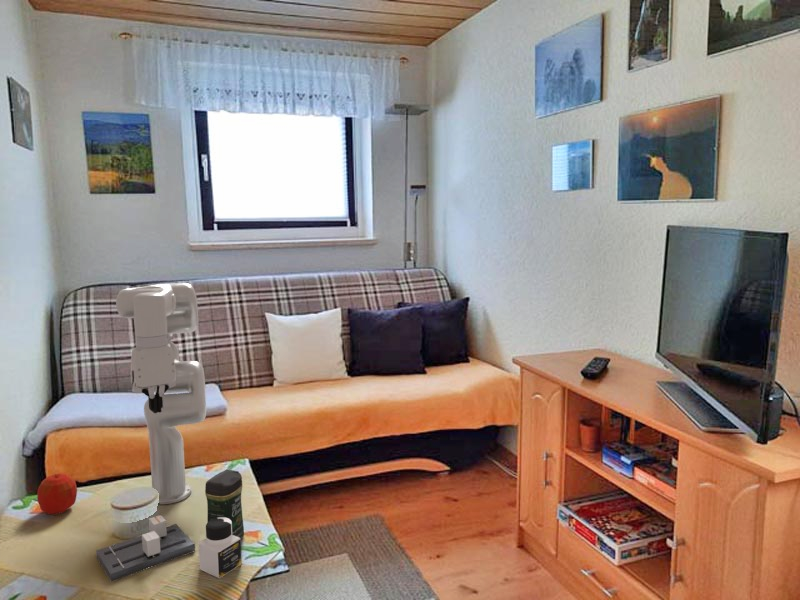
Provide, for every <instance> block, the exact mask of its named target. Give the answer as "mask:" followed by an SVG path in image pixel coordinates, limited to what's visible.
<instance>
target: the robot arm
mask: <svg viewBox="0 0 800 600" xmlns="http://www.w3.org/2000/svg"><path fill="white" fill-rule="evenodd" d="M115 300H116V303H115V306H116V311H117V313H118V314H119V316H120V317H121V318H122V319H123V318H124V319H133V322H134V335H135V347H132V349H131V357H130V358H131V359H130V383H131V384H132V388H131V392H132V393H134V394H143V395H145V396H146V397H147V398H148V399H147V400H146V401H145V402H144V405H143V413H144V419H145V423H146V427H147V433H148V434H147V435H148V440H149V445H148V446H149V457H150V458H149V460H150V473H151V474H150V475H151V487H152V488H154V489H156V490H157V491H158V493H159V503H160V504H159V505H169V504H174V503H178V502H180V501H183V500H186V498H188V497H189V496H190V495H191V493H192V486H191V485H189V484H187V483H186V469H185V468H186V467H185V451H184V450H185V448H184V447H185V446H184V438H183V436H182V434H181V432H180V431H179V430H178V429H177V428H176V427H177V426H184V425H194V424H199V423H202V422H203V421H204V420H205V418H206V416H207V397H206V396H207V395H206V377H205V369H204V366H203V365H202V363H201V362H199V361H197V360H184V361H180V352H179V348H178V346H177V345H176V344H175V343H174V342H173V340H174V334H188V333H193V332H195V331H197V329H198V328H199V322H200V320H199V319H200V318H199V311H198V310H199V308H198V300H197V293H196V290H195V288H194V287H193V285H191V284H190V283H188V282H187V283H186V282H177V283H173V282H172V283H157V284H156V283H155V284H153V285H152V284H151V285H144V286H140V287H131V288H123V289H121V290H119V292H118V294H117V297H116V299H115ZM152 488H151V489H152Z"/></svg>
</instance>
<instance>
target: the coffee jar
mask: <svg viewBox="0 0 800 600" xmlns="http://www.w3.org/2000/svg"><path fill="white" fill-rule="evenodd" d="M204 491H205V498H206V503H207V507H206V508H207V516H206V517H207V521H206V522H207V523H208V522H209V521H210V520H212V519H214V518H218V517H226V518H229V519H230V520H231V521H232V535H234V536H237V537H239V538H240V540H243V537H244V535H245V527H244V518H243V508H242V507H243V506H242V493H243V492H242V491H243V477H242V473H240V472H239V471H238V470H232V469H224V470H223V471H221V472H218V473H217V474H215V475H214V476H212V477H211V478H209V479H207V481H205V489H204ZM207 523H206V524H207Z"/></svg>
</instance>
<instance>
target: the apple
mask: <svg viewBox="0 0 800 600" xmlns="http://www.w3.org/2000/svg"><path fill="white" fill-rule="evenodd" d="M36 494H37V495H36V496H37V497H36V498H37V502H38V505H39V509H40V510H41V511H42V512H43V513H46V514H47V515H50V516H54V515H55V516H56V515H60V514H62V513H65V512H66V511H68V510H69V509H70V508H71V507H72V506H73V505H75V503H76V501H77V500H76V499H77V495H78V487H77V483H76V481H75V479H73V477H72V476H70V475H68V474H66V473H55V474H51V475H49V476H47V477H46V478H44V479H43V480H42V481H41V483H40V484H39V486H38V489H37V493H36Z"/></svg>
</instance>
